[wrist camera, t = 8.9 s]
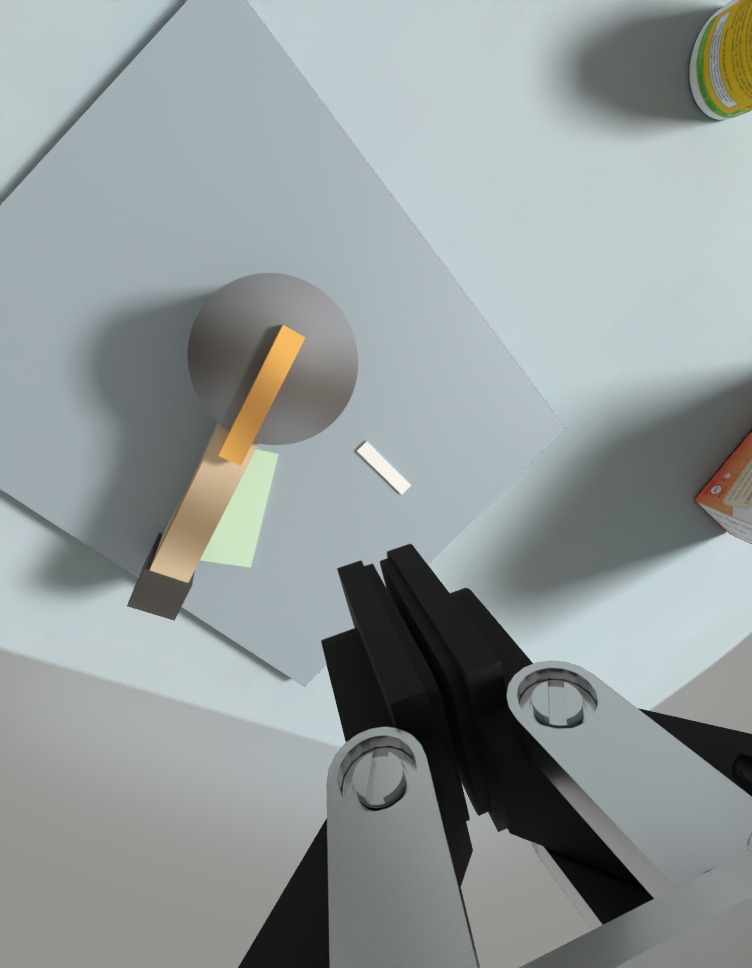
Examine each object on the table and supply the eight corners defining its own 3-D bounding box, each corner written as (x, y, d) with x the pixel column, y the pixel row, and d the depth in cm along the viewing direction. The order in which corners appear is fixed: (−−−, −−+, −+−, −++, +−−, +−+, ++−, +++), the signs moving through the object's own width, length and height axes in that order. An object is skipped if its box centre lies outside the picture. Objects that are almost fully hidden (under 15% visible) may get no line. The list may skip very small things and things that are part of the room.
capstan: (235, 252, 23) (233, 232, 18) (360, 328, 26) (390, 330, 21) (99, 544, 26) (63, 601, 21) (225, 588, 28) (221, 647, 23)
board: (-143, 380, 22) (-167, 383, 21) (221, -17, 21) (220, -39, 20) (302, 674, 33) (304, 688, 32) (554, 424, 32) (568, 428, 31)
